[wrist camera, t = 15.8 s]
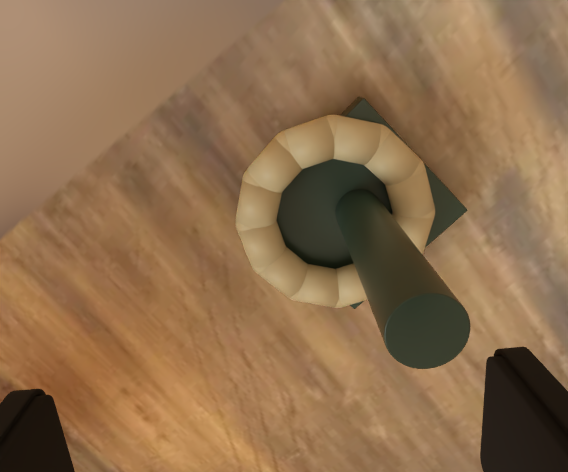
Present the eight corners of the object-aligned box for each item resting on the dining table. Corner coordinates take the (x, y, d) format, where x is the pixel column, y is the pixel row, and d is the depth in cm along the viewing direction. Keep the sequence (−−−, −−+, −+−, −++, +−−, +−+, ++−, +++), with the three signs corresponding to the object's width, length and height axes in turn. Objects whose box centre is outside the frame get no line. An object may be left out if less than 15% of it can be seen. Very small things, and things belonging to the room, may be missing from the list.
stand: (251, 205, 26) (223, 335, 13) (358, 96, 24) (449, 124, 11) (350, 297, 28) (411, 489, 15) (457, 202, 26) (631, 329, 13)
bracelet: (201, 219, 24) (195, 232, 23) (327, 72, 22) (332, 72, 20) (336, 326, 27) (340, 346, 25) (464, 202, 24) (480, 213, 22)
